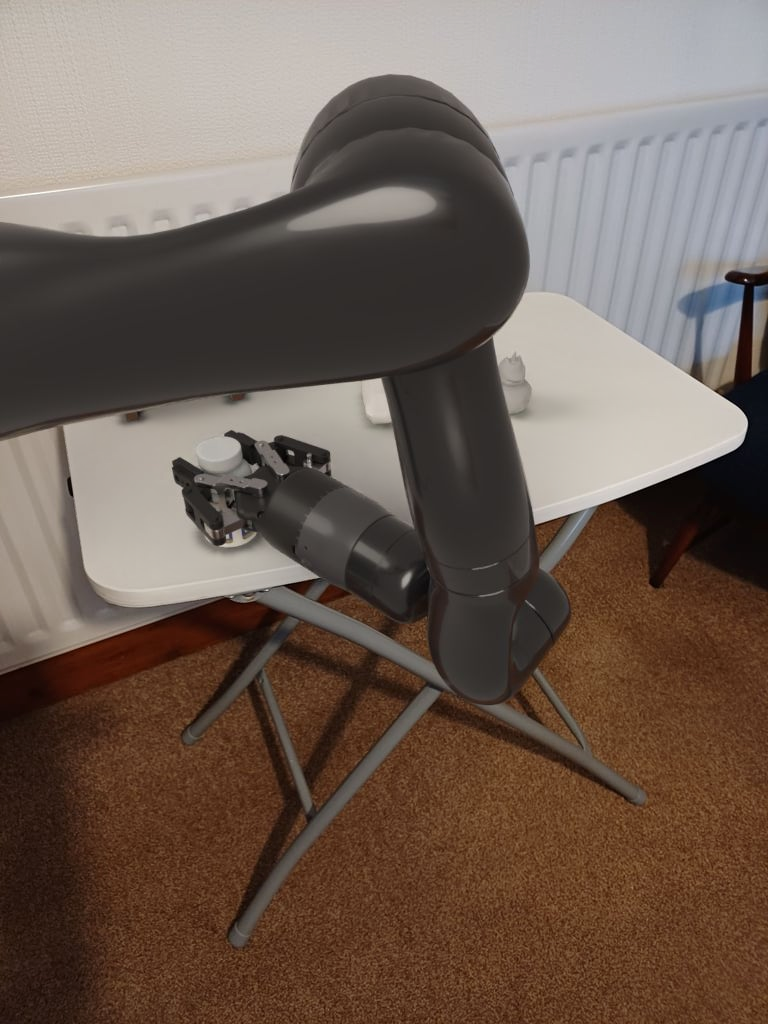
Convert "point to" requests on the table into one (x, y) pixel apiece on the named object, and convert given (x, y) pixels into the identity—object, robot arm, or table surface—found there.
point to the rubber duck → (514, 383)
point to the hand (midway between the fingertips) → (203, 453)
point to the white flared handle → (375, 401)
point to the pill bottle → (220, 460)
